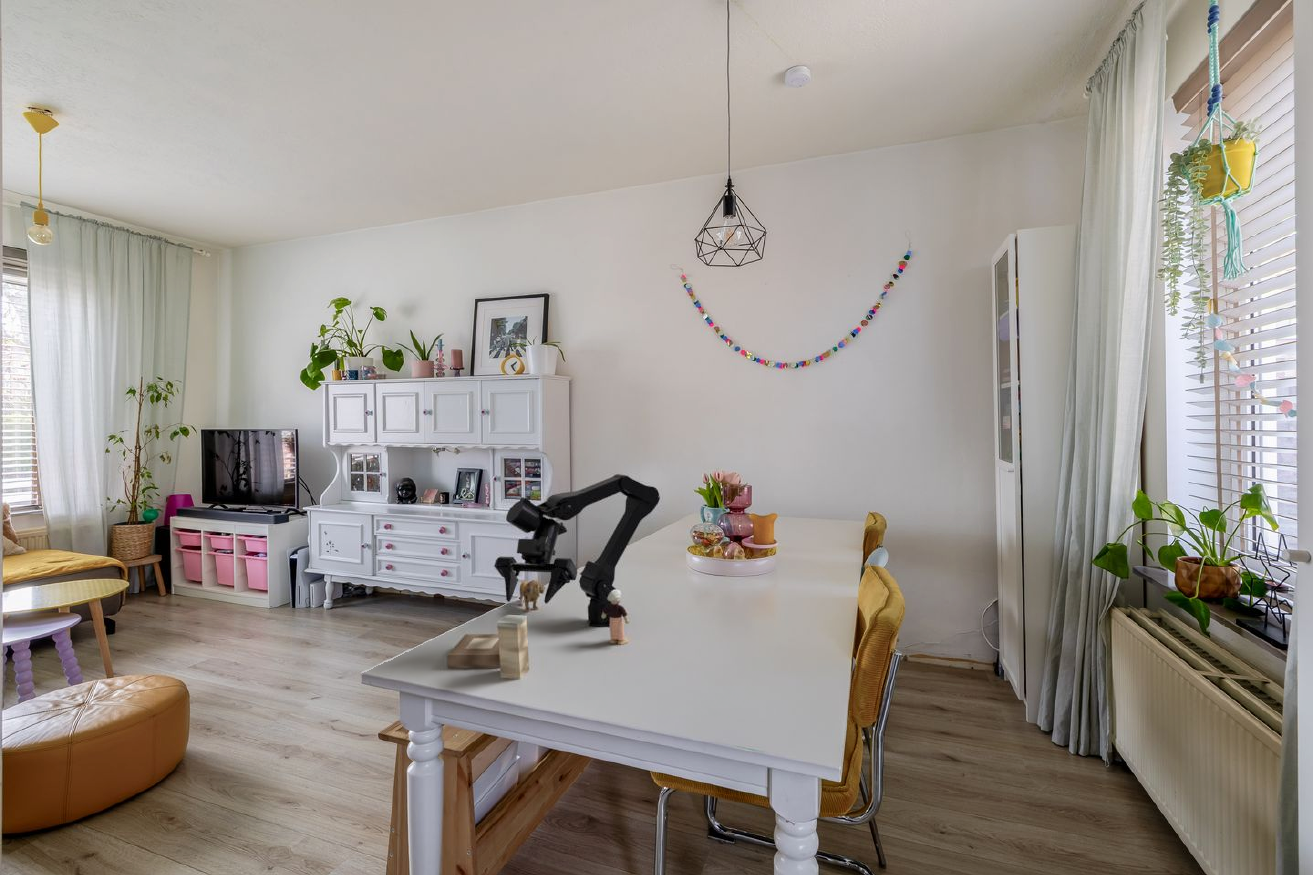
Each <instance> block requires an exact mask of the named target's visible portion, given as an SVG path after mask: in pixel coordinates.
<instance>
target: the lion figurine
mask: <svg viewBox="0 0 1313 875" xmlns="http://www.w3.org/2000/svg"><path fill="white" fill-rule="evenodd" d="M545 591H546V587H545V586H544V585H542V584H541V583H540V580H539V579H533V580H530V581H528V580H523V581H521V583H520V586H519V597H518V599H519V603H518V606H519V607H522V606H523V605H524V606H525V611H524V612H525V613H530V612H531V611H530V607H529V603H532V609H533V610H535V611H537V610H538V609H539V607H537V602H538V598H540V594H542V595H543V594H545V593H544V592H545Z"/></svg>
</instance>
